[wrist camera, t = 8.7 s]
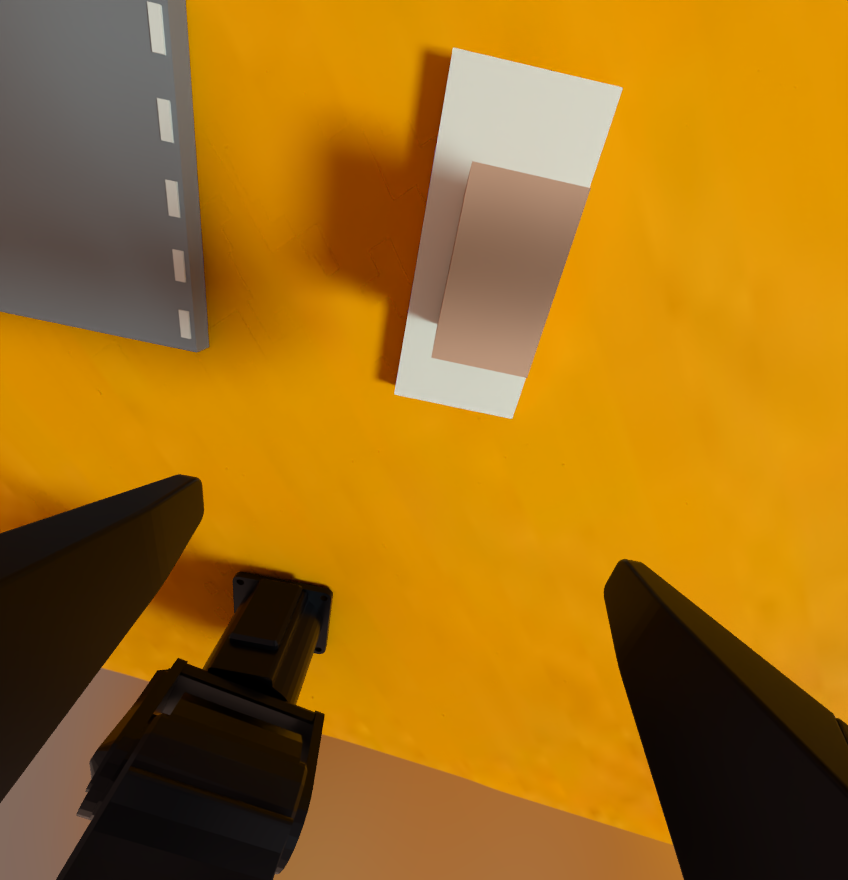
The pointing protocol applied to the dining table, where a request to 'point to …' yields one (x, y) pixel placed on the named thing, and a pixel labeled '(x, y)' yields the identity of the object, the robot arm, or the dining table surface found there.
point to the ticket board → (100, 169)
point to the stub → (498, 226)
